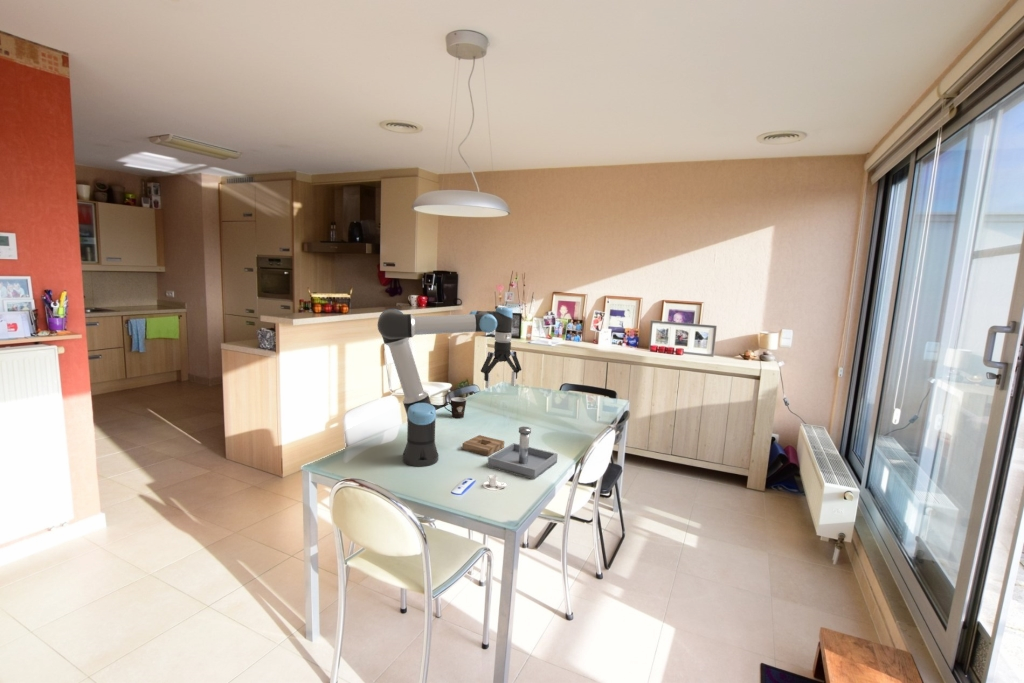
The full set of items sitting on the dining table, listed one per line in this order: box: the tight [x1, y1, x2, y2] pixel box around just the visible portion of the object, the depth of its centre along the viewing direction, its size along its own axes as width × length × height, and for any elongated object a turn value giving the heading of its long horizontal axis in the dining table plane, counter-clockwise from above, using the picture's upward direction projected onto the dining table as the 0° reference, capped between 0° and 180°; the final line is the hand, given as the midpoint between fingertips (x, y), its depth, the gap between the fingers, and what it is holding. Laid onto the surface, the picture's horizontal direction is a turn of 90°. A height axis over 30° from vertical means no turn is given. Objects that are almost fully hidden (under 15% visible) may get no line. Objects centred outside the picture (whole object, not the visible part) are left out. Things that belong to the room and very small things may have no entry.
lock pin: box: [518, 426, 532, 464], centre depth 214 cm, size 5×5×15 cm
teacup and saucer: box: [482, 474, 507, 491], centre depth 192 cm, size 9×8×4 cm
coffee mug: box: [443, 396, 467, 420], centre depth 278 cm, size 12×9×10 cm
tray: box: [487, 442, 558, 480], centre depth 215 cm, size 22×22×4 cm
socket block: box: [461, 434, 505, 457], centre depth 232 cm, size 14×14×3 cm
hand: (500, 386), depth 231 cm, fingers open, 13 cm apart
